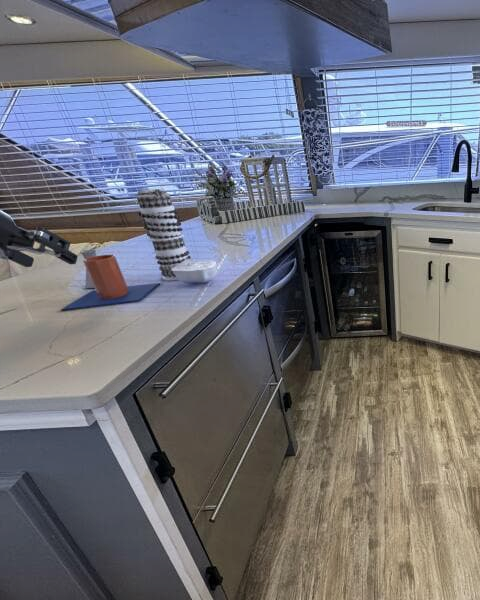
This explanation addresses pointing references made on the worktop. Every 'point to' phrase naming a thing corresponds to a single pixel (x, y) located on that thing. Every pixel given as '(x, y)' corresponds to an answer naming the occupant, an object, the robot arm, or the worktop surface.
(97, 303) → the cloth
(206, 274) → the white rounded container
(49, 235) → the robot arm
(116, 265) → the cup
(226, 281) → the worktop surface
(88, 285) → the flask
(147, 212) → the decorative candle
